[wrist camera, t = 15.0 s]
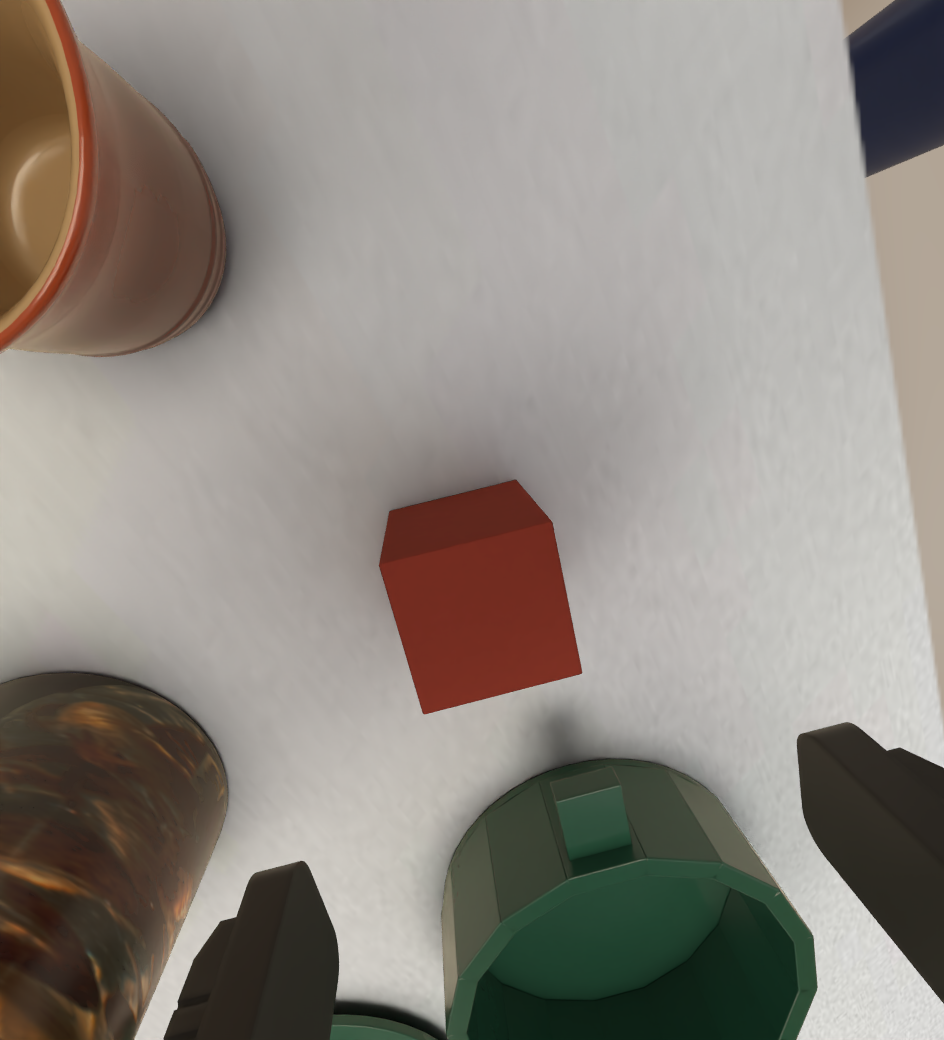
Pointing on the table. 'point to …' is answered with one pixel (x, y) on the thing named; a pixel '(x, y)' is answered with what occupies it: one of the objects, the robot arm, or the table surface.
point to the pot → (618, 917)
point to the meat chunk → (478, 596)
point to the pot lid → (373, 1029)
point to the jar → (96, 850)
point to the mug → (94, 201)
